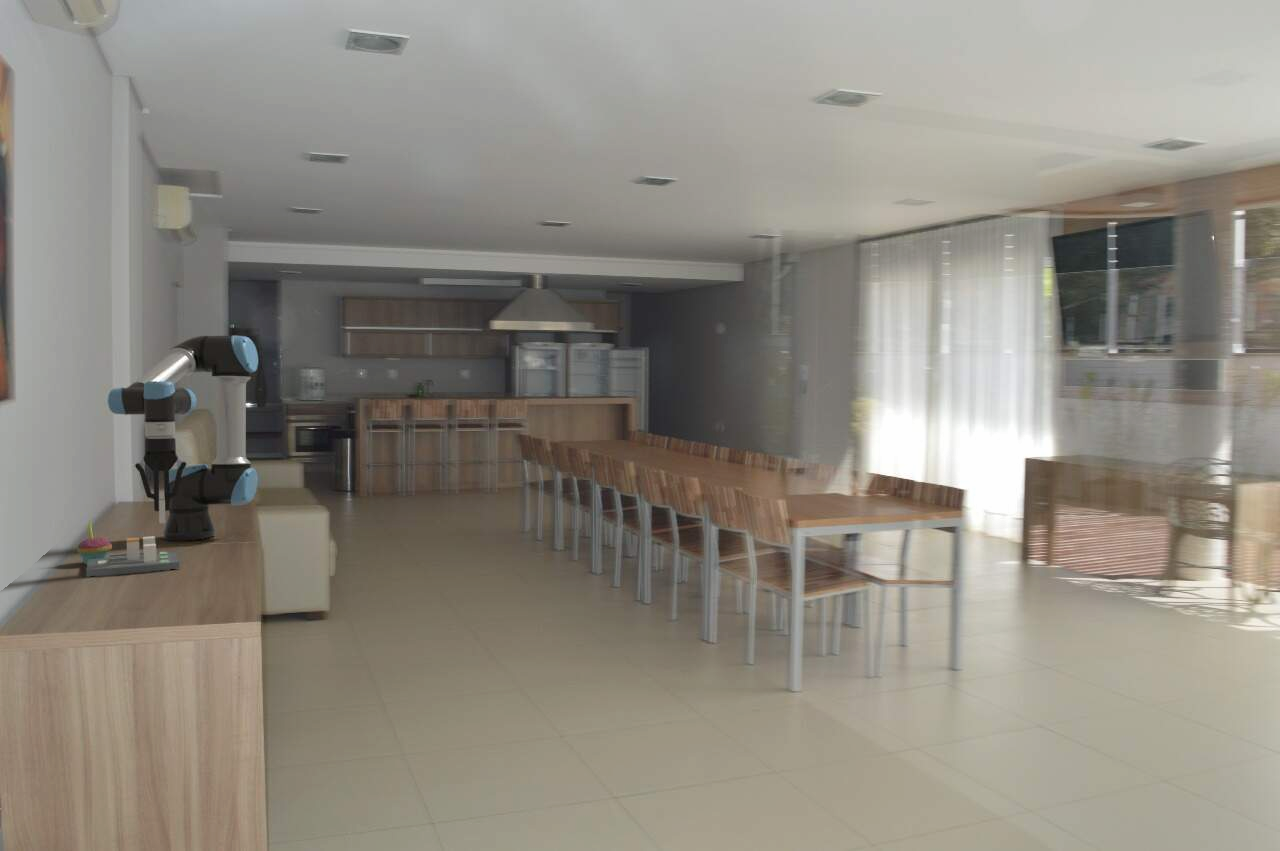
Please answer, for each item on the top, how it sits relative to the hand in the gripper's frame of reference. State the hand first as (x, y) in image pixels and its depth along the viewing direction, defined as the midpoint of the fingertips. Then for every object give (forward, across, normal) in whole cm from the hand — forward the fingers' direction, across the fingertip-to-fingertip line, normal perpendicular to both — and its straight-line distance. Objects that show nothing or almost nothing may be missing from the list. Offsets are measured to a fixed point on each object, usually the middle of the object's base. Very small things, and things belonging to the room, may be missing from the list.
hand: (162, 522), depth 271 cm
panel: (+12, -7, 0) cm, 14 cm away
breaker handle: (+10, -7, 0) cm, 12 cm away
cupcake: (+12, -17, +12) cm, 24 cm away
